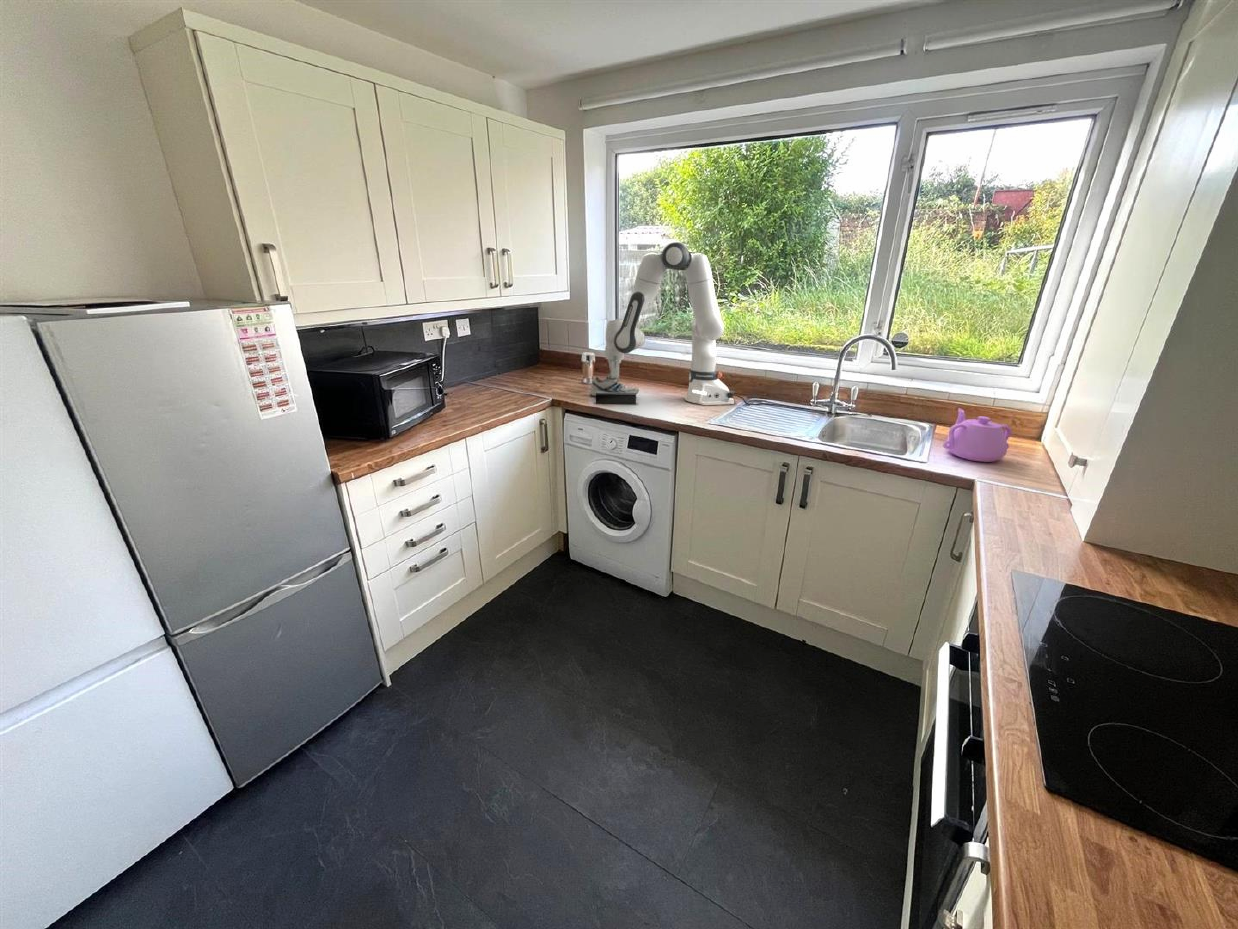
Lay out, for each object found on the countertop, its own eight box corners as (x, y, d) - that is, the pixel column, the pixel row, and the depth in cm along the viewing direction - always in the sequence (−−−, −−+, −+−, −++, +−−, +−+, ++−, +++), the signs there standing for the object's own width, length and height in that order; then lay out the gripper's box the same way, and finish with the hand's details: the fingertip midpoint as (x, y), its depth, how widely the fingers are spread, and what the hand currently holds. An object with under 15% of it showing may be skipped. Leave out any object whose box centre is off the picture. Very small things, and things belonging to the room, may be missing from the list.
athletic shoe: (638, 399, 228) (639, 373, 227) (588, 398, 229) (588, 372, 227) (638, 399, 238) (638, 374, 237) (590, 398, 239) (590, 373, 237)
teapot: (977, 444, 183) (988, 407, 178) (1023, 465, 163) (1037, 425, 158) (918, 442, 182) (928, 406, 177) (957, 464, 162) (969, 423, 157)
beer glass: (597, 382, 263) (597, 353, 257) (591, 384, 257) (591, 355, 251) (585, 380, 265) (585, 352, 260) (579, 382, 259) (579, 353, 254)
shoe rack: (635, 403, 223) (636, 392, 221) (635, 404, 222) (636, 392, 220) (595, 402, 222) (595, 391, 220) (595, 403, 221) (595, 392, 219)
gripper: (622, 358, 223) (621, 389, 228) (620, 351, 242) (619, 379, 247) (608, 358, 223) (608, 389, 228) (607, 351, 242) (606, 379, 247)
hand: (613, 384), depth 238 cm, fingers closed
